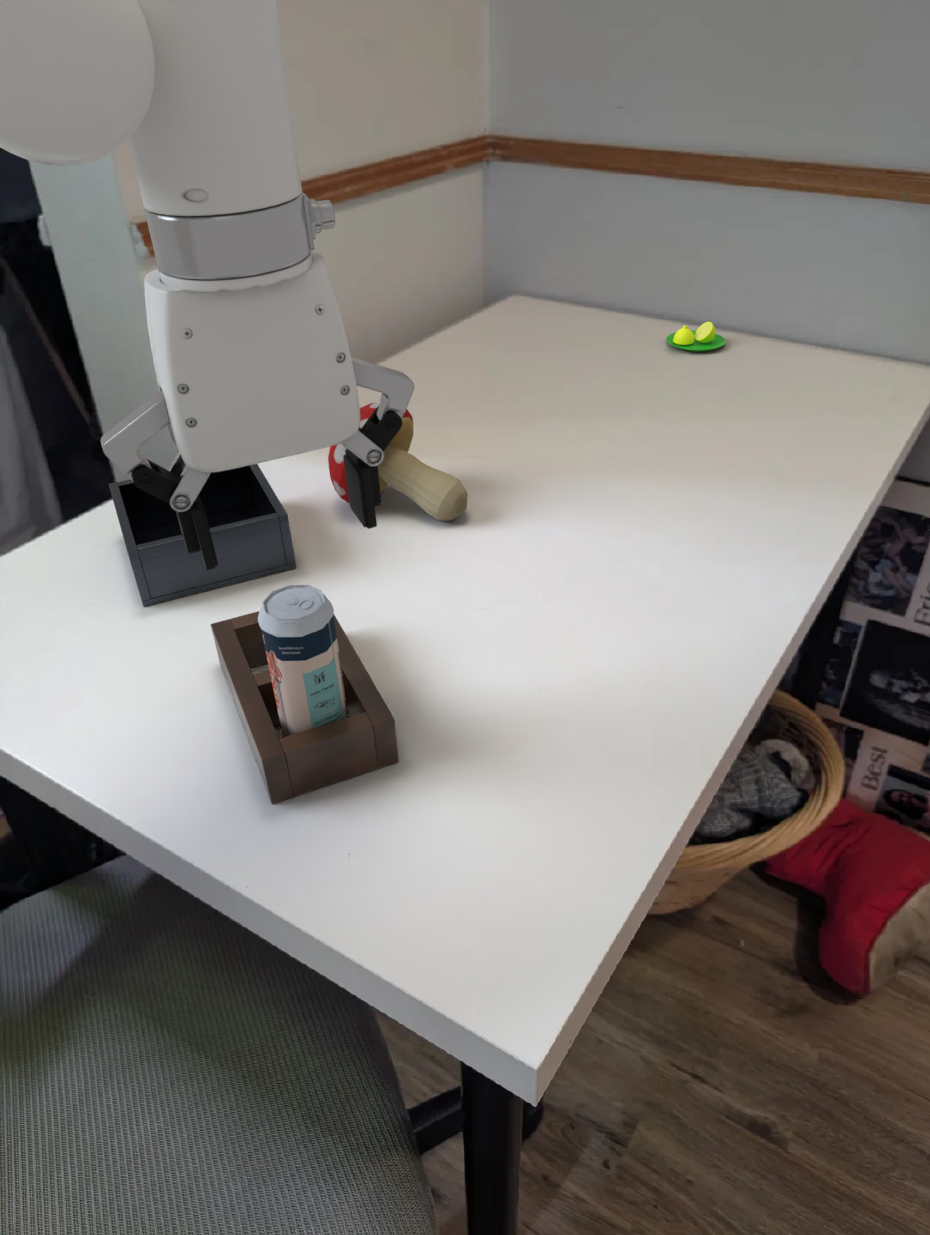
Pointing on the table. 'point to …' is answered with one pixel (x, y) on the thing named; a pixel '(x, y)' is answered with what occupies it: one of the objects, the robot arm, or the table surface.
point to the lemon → (696, 338)
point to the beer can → (303, 658)
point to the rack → (317, 750)
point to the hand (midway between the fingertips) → (287, 537)
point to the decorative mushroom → (405, 473)
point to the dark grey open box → (239, 526)
